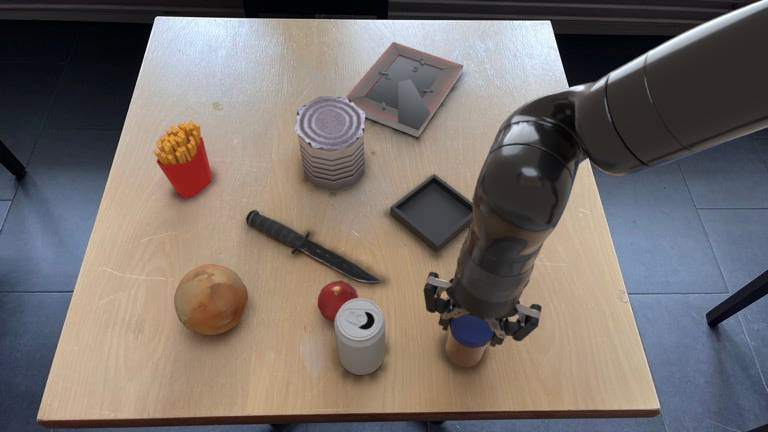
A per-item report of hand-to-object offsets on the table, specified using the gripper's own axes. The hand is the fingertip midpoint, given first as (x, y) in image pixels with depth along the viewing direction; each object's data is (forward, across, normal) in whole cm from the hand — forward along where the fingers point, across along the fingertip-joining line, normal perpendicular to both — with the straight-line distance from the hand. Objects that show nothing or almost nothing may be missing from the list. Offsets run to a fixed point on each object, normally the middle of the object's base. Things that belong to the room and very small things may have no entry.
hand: (469, 331), depth 69 cm
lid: (-3, 0, 0) cm, 3 cm away
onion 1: (+7, +35, +7) cm, 36 cm away
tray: (+7, +10, -22) cm, 25 cm away
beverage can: (+7, +13, +6) cm, 16 cm away
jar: (+7, 0, 0) cm, 7 cm away
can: (+7, +30, -25) cm, 40 cm away
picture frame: (+7, +25, -49) cm, 56 cm away
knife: (+7, +27, -8) cm, 29 cm away
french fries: (+7, +52, -14) cm, 54 cm away
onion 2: (+7, +19, +1) cm, 20 cm away
